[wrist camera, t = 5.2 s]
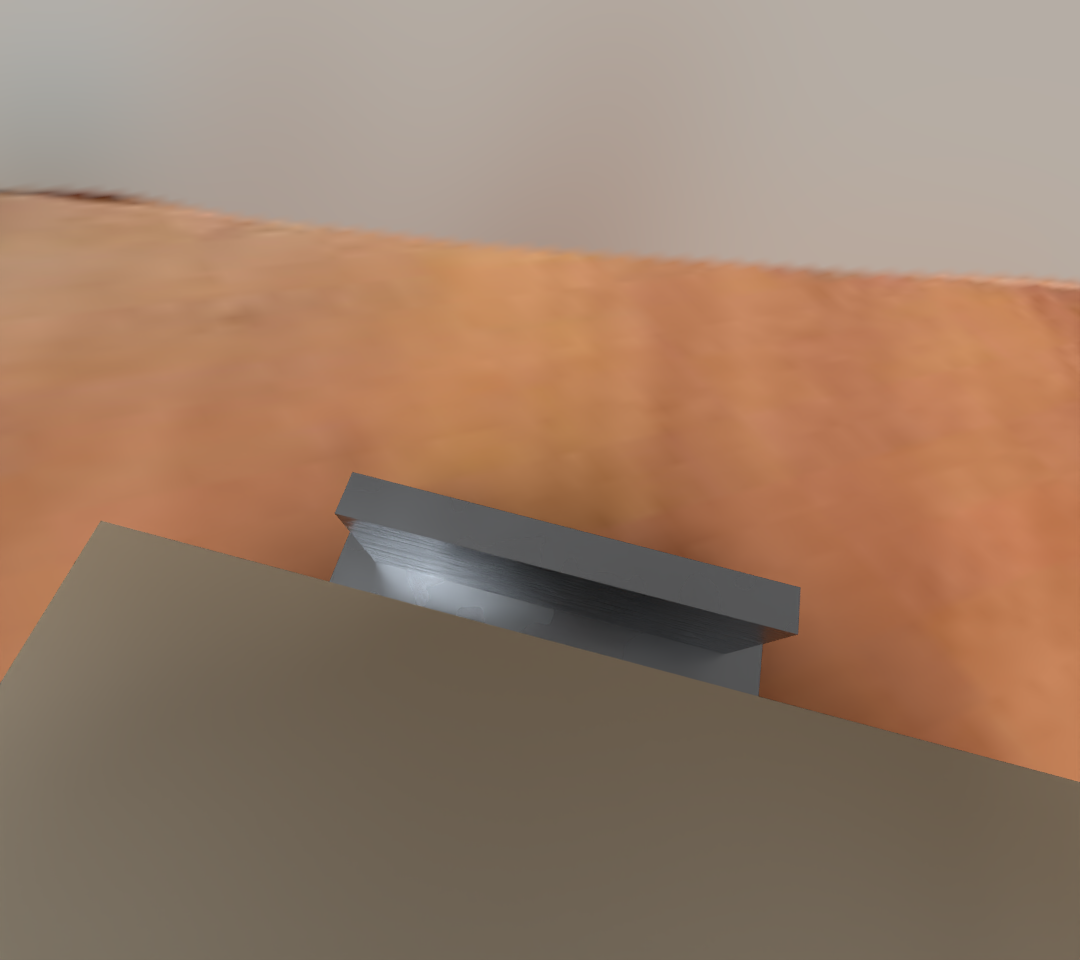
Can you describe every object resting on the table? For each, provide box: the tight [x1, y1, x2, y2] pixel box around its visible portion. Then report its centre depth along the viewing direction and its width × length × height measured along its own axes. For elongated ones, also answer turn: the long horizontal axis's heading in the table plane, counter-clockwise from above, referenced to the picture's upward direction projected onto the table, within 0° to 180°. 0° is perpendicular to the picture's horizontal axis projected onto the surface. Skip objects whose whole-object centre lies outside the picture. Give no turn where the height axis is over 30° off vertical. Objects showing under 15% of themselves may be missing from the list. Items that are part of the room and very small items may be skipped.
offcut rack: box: [330, 472, 800, 696], centre depth 11 cm, size 17×12×5 cm
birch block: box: [0, 521, 1080, 960], centre depth 8 cm, size 2×6×12 cm, turn 76°
